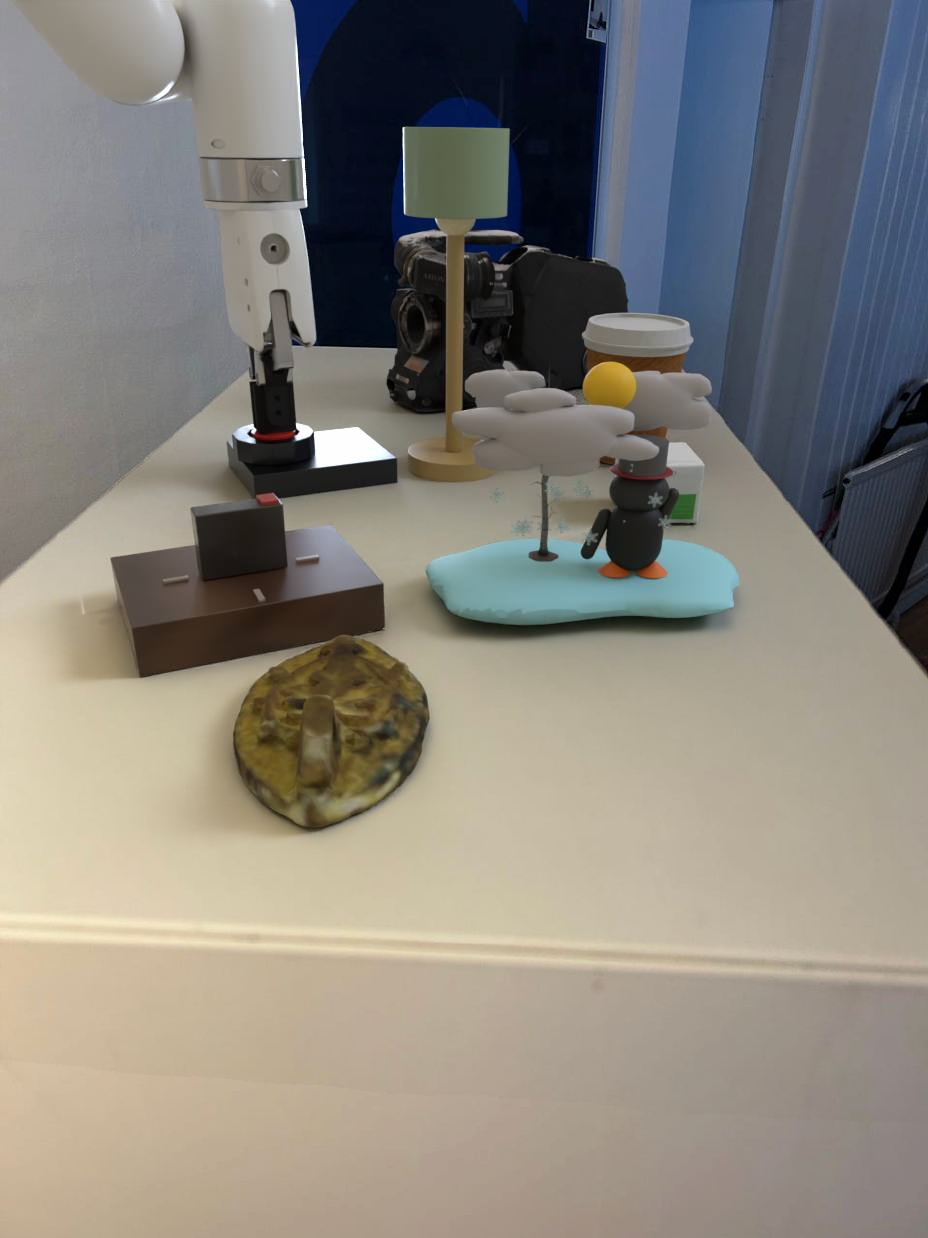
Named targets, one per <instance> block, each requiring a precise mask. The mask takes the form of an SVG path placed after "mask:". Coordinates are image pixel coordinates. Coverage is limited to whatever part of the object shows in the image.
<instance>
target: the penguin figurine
mask: <svg viewBox="0 0 928 1238" xmlns="http://www.w3.org/2000/svg"><path fill="white" fill-rule="evenodd" d="M544 371H545V370H544ZM549 372H550V369H549ZM545 373H546V372H545ZM660 374H661V373H660V372H659V371H643V372H631V371H630V369H629V368H627V367H626V366H624V365H623V364H620V363H617V362H604V363H601V364H598V365H596V366H595V367H593V368H592V369H591V370H590V371H589V372H588V373H587V375H586V377H585V379H584V382H583V386H582V393H583V396H584V398H585V400H586V402H587V403H588V404H577V397H576V396H575V395H574V394H571V393H570V392H567V391H565V390H564V389H557V387H556V388H555V389H554V388H550V384H549V380H548V381H547V380H544V377H543V376H542V375H541V374H539V373H537V372H534V371H518V370H511V371H509V370H508V369H505V370H499V369H498V370H490V371H483V372H480V373H475V374H473V375H471V376H470V377H469V378H468V379H467V380H465V391H466V392H468V393H470V394H471V396H472V397H473V398H474V397H476V404H477V406H476V408H470V409H466V410H462V411H457V412H454V413H453V414H452V423H453V426H454V427H455V428H456V429H457V430H459V431H462V433H464V434H468V435H473V436H478V437H483V438H484V439H481V440H482V441H480V442H477V443H476V444H474V445H473V447H472V454H473V455H474V456H475V464H476V466H478V467H480V468H483V469H487V470H493V471H498V472H520V471H528V470H533V469H535V468H538V467H539V473H540V474H541V482H539V481H538V480H537V481H536V482H533V484H540V485H541V516H540V515H538V516H537V515H532V514H531V516H532V517H531V519H533V518H541V522H540V521H539V522H538V525H539V527H537V529H536V531H540V538H524V537H525V536H526V534H527V533H528V534H529V535H530V534H531V535H532V534H533V533H532V531H533V530H534V529H533V526H532V524H533V523H534V520H529V521H528V517H527V516H524V517H523V520H521V519H519V520H518V521H516V524H515V525H514V524H512V525H511V524H510V527H511V528H512V530H510V534H512V533H514V535H515V537H518V536H519V534H520V533H521V536H522V538H517V539H515V538H514V539H508V540H507V539H506V540H502V541H501V540H500V541H496V542H492V543H487V544H484V545H481V546H477V547H474V548H471V549H469V550H465V551H461V552H457V553H456V552H455V553H452V554H447V555H444V556H440V557H437V558H436V559H434V560H431V562H430V563H429V564H428V565H427V566H426V567H425V570H424V572H425V576H426V578H427V581H428V584H429V586H430V588H431V589H432V590H433V591H434V592H435V593H436V595H438V596H439V598H440V599H441V600H443V603H444V605H445V607H446V609H447V610H448V611H449V612H450V613H452V614H454V615H456V616H458V617H461V618H464V619H469V620H473V621H479V622H483V623H492V624H501V625H510V626H511V625H512V626H536V625H537V626H538V625H540V626H541V625H552V624H553V625H554V624H561V623H570V622H577V621H584V620H585V621H586V620H593V619H594V620H595V619H601V618H611V617H625V616H626V617H628V616H629V617H633V616H635V617H637V616H638V617H651V618H664V619H665V618H666V619H681V618H682V619H684V618H695V617H702V616H708V615H712V614H717V613H721V612H726V611H728V610H730V609H732V608H734V607H735V601H734V592H735V590H737V588H738V587H739V586H740V584H741V583H740V576H739V574H738V571H737V570H736V568H735V566H734V565H733V563H732V562H731V561H730V560H729V559H727V558H726V557H725V556H723V555H722V554H721V553H720V552H717V551H715V550H713V549H711V548H709V547H706V546H703V545H700V544H697V543H693V542H690V541H684V540H678V539H667V538H664V531H665V530H666V527H667V526H668V527H670V528H671V527H672V524H670V523H667V522H668V521H667V520H669V519H668V518H669V516H670V514H671V512H672V510H673V509H674V507H675V505H676V503H677V501H678V499H679V492H678V490H677V489H675V488H670V489H669V485H668V483H667V481H666V479H665V478H667V477H669V476H671V475H672V474H673V470H672V469H670V468H669V467H666V464H667V456H668V447H669V443H670V441H669V440H668V439H667V438H666V437H665V438H663V437H659V436H655V435H648V434H632V435H626V433H628V432H631V431H642V430H651V429H655V428H658V427H660V426H662V427H666V428H668V429H669V430H674V431H675V430H676V431H679V430H680V431H691V430H701V429H703V428H706V427H707V426H708V425H709V424H710V422H711V420H712V419H711V418H712V408H711V406H710V404H709V403H707V402H706V401H705V400H702V399H697V398H702V397H704V396H710V395H711V394H712V390H713V388H712V385H711V381H710V380H709V379H708V377H706V376H704V375H702V374H701V373H689V372H681V373H664V374H661V375H660ZM549 378H550V375H549ZM561 379H562V378H561ZM545 381H547V382H548V385H549V388H547V387H546V383H545ZM559 383H560V382H559ZM558 385H559V384H558ZM558 385H557V386H558ZM544 386H545V387H546V388H545V387H544ZM589 404H590V405H589ZM603 456H607V457H611V458H616V459H619V462H618V464H615V465H611V466H610V467H609V471H610V473H611V474H613V475H614V474H615V475H616V476H615V477H614V476H613V479H611V482H610V484H609V486H608V487H609V488H608V494H609V498H610V500H611V501H612V503H613V504H614V505H615V507H614V508H613V509H612V510H610V509H609V508H605V507H604V508H602V509H600V510H599V512H598V513H597V515H596V517H595V520H594V521H593V523H592V526H591V528H590V529H589V530H588V532H587V533H586V532H582V536H584V537H583V538H582V539H581V542H576V541H571V540H565V539H557V538H556V539H555V538H548V537H549V536H548V534H549V532H550V531H552V529H551V526H552V524H553V522H549V519H550V518H551V516H552V515H553V514H554V513H555V514H556V512H555V511H554V509H553V508H552V507H553V506H551V510H550V512H549V503H548V492H549V496H550V497H549V498H550V499H552V498H554V499H553V500H552V501H551V503H554V502H559V499H560V498H561V500H566V496H564V494H565V493H566V492H567V490H563V491H561V484H562V483H557V484H555V480H554V479H552V480H550V481H551V482H550V483H548V481H549V478H550V477H562V478H563V477H567V478H568V477H569V478H570V477H578V476H582V475H585V474H588V473H590V472H593V471H595V470H597V469H598V468H599V467H600V462H601V461H600V458H601V457H603ZM570 484H571V487H572V488H573V489H572V490H570V493H572V494H576V497H582V498H583V497H584V500H588V499H589V497H591V498H594V495H593V493H594V492H595V489H592V490H591V489H590V487H589V484H585V485H583V484H582V480H581V479H579V480H578V481H577V484H575V483H570ZM529 485H530V486H531V484H529ZM489 491H490V494H491V496H490V497H489V499H490V500H492V499H493V500H494V502H495V504H498V502H499V499H501V500H502V501H504V500H505V497H504V496H503V495H504V494H505V492H506V491H504V490H502V491H500V488H499V487H498V486H497V487H496V488H495V492H494V491H492V490H489ZM581 493H582V494H581ZM579 494H580V495H579ZM537 496H538V497H540V495H539V494H537ZM551 512H552V513H551ZM671 521H672V520H671ZM669 522H670V520H669ZM555 525H556V526H557V527H556V528H555V529H554V530H555V531H559V532H560V534H561V535H562V534H564V531H565V530H566V531H567V532H568V531H570V529H569V528H568V526H571V522H565V519H561V522H559V521H557V522H556V521H555ZM604 535H605V549H601V548H599V546H600V544H601V542H602V540H603V538H604ZM582 542H583V543H582Z"/></svg>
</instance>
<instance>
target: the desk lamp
mask: <svg viewBox="0 0 928 1238" xmlns="http://www.w3.org/2000/svg"><path fill="white" fill-rule="evenodd" d="M510 130H511V129H510V128H507V127H506V128H504V127H503V128H502V127H501V128H500V127H499V128H498V127H454V126H453V127H446V126H445V127H443V126H442V127H441V126H439V127H438V126H403V127H402V155H403V156H402V157H403V158H402V160H403V164H402V165H403V214H404V215H405V216H408V217H413V218H422V219H423V218H426V219H434V220H435V223H436V225H437V227H438V229H440V230H441V231H442V232H443V233H445V234H446V235H447V251H446V410H445V436H444V437H433V438H428V439H423V440H420V441H416V442H415V443H413V444H411V445H410V446H409V447H408V449H407V470H408V471H409V472H410V473H411V474H412V475H414V476H416V477H419V478H421V479H425V480H429V481H435V482H442V483H467V482H468V483H469V482H475V481H481V480H485V479H488V478H491V477H493V476H495V475H496V474H497V473H498V472H499V471H493V470H487V469H483V468H480V467H478V466H476V464H475V456H474V455H473V454H472V447H473V445H474V444H476V443H477V442H480V441H482V440H483V439H477V438H470V437H463V432H462V431H459V430H457V429H456V428H455V427H454V426H453V423H452V414H453V413H454V412H457V411H463V408H462V383H463V304H464V252H465V245H464V235H465V234H467V233H468V232H469V231H470V230H473V227H474V226H475V224H476V220H482V219H483V220H484V219H499V218H504V217H505V218H506V217H507V216H508V195H509V193H508V192H509V167H510V166H509V165H510V163H509V161H510V136H511V135H510V132H511V131H510Z"/></svg>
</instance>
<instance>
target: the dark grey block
mask: <svg viewBox="0 0 928 1238" xmlns="http://www.w3.org/2000/svg"><path fill="white" fill-rule="evenodd" d="M256 496H257V499H253V498H249V499H242V500H236V501H227V502H221V503H213V504H212V503H211V504H206V505H198V506H191V507H190V508H189V509H190V519H191V525H192V533H193V534H192V535H193V540H194V545H195V549H196V557H197V565H198V571H199V573H200V575H201V577H202V579H203V580H204V581H205V580H211V579H217V578H224V577H230V576H236V575H242V574H248V573H254V572H260V571H267V570H273V569H279V568H285V567H288V561H287V549H286V537H285V531H286V525H285V524H286V523H285V513H284V504H283V503H282V502H281V500H280V499H278V498H277V497H276V496H275V495H274V493H269V494H261V495H256Z"/></svg>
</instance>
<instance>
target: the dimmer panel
mask: <svg viewBox="0 0 928 1238" xmlns="http://www.w3.org/2000/svg"><path fill="white" fill-rule="evenodd" d="M285 537H286V549H287V561H288V567H285V568H279V569H273V570H267V571H260V572H254V573H248V574H242V575H236V576H230V577H224V578H217V579H211V580H205V581H204V580H203V579H202V577H201V575H200V573H199V571H198V565H197V557H196V549H195V544H193V545H185V546H179V547H171V548H165V549H158V550H152V551H144V552H138V553H130V554H123V555H118V556H111V557H110V558H109V559H110V565H111V571H112V577H113V581H114V587H115V593H116V598H117V603H118V607H119V610H120V614H121V617H122V620H123V624H124V628H125V631H126V634H127V639H128V641H129V645H130V648H131V652H132V655H133V658H134V659H133V660H134V662H135V666H136V669H137V673H138V676H139V678H142V677H147V676H153V675H158V674H164V673H168V672H173V671H177V670H183V669H188V668H193V667H199V666H204V665H208V664H213V663H218V662H223V661H228V660H234V659H239V658H244V657H249V656H254V655H260V654H264V653H270V652H275V651H279V650H285V649H290V648H295V647H300V646H305V645H310V644H315V643H316V644H317V643H321V642H327V641H330V640H332V639H334V638H336V637H338V636H340V635H350V636H356V635H361V634H362V635H363V634H367V633H371V632H370V631H372V632H376V631H375V630H377V631H380V630H379V629H382V630H384V629H383V628H385V629H386V620H385V619H386V618H385V617H386V616H385V614H386V613H385V586H384V585H385V584H384V582H382V580H381V579H380V578H379V577H378V576H377V574H376V573H375V571H373V570H372V569H371V567H370V566H369V565H368V564H367V563H366V562H365V561H364V560H363V559H362V557H361V556H360V555H359V554H358V553H357V552H356V550H355V549H354V548H353V547H352V546H351V545H350V544H349V543H348V542H347V540H346V539H345V538H344V537H343V536H342V535H341V533H340V532H339V531H338V529H336V528H335V526H333V524H326V525H320V526H313V527H312V526H311V527H305V528H299V529H292V530H287V531H286V530H285Z"/></svg>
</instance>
